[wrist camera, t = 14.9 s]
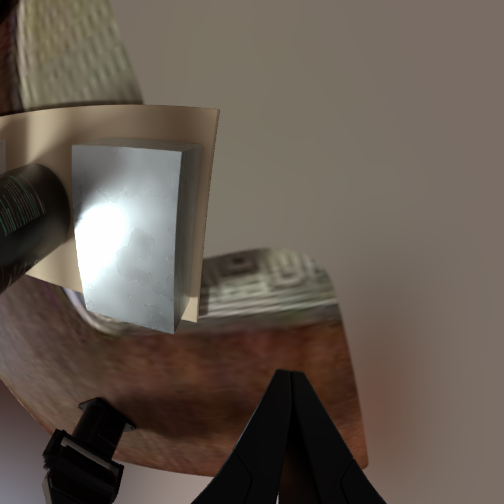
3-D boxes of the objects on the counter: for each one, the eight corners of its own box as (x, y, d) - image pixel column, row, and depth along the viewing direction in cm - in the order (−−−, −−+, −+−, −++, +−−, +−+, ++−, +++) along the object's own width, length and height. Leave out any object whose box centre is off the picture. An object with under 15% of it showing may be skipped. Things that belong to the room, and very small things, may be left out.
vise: (4, 261, 21) (-22, 281, 17) (-10, 118, 15) (-44, 126, 11) (198, 317, 21) (183, 356, 17) (220, 109, 15) (200, 106, 11)
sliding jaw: (111, 281, 19) (86, 309, 16) (107, 137, 15) (71, 145, 12) (189, 300, 19) (173, 334, 16) (202, 144, 15) (181, 152, 12)
